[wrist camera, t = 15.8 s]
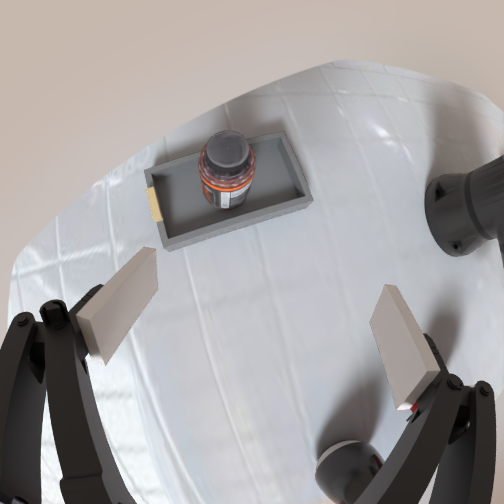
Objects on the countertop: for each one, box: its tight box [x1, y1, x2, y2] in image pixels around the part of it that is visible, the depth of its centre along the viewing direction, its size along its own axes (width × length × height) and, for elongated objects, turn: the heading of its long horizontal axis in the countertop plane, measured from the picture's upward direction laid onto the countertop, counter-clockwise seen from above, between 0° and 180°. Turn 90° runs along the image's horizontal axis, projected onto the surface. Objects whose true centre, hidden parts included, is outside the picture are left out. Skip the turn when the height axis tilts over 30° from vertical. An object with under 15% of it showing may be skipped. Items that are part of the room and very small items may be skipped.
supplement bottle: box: [198, 131, 256, 210], centre depth 29 cm, size 6×6×11 cm
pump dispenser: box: [315, 440, 385, 504], centre depth 25 cm, size 10×10×15 cm
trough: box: [144, 131, 314, 252], centre depth 33 cm, size 19×10×5 cm, turn 109°
